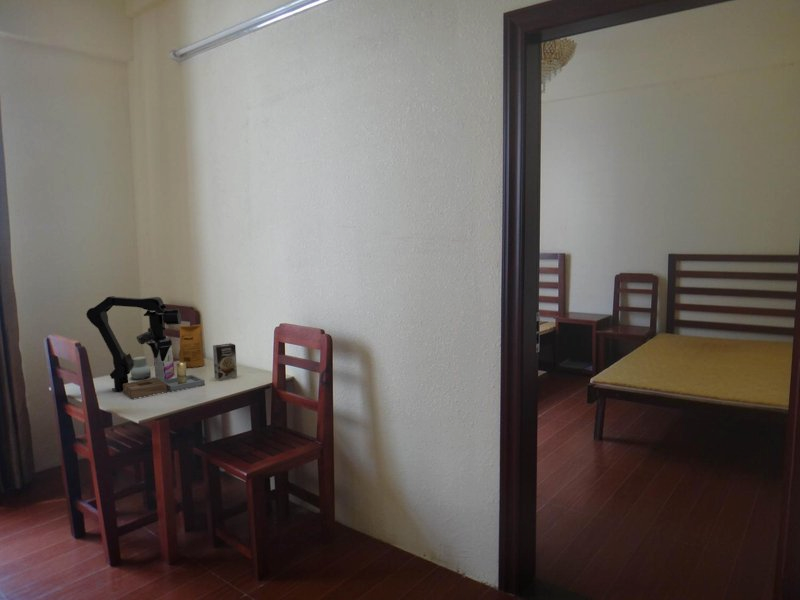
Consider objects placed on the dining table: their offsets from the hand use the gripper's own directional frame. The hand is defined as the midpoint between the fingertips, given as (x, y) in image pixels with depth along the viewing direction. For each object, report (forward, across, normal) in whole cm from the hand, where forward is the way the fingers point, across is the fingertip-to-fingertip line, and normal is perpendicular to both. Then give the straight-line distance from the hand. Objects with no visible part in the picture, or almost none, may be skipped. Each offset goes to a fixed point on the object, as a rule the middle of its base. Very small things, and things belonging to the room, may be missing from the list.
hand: (159, 359), depth 248 cm
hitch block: (+13, +3, -8) cm, 16 cm away
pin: (+12, +4, +8) cm, 15 cm away
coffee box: (+13, +6, +28) cm, 32 cm away
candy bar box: (+13, -16, +7) cm, 22 cm away
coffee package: (+13, -31, +26) cm, 43 cm away
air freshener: (+13, -26, -1) cm, 29 cm away
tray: (+13, +4, +8) cm, 16 cm away
